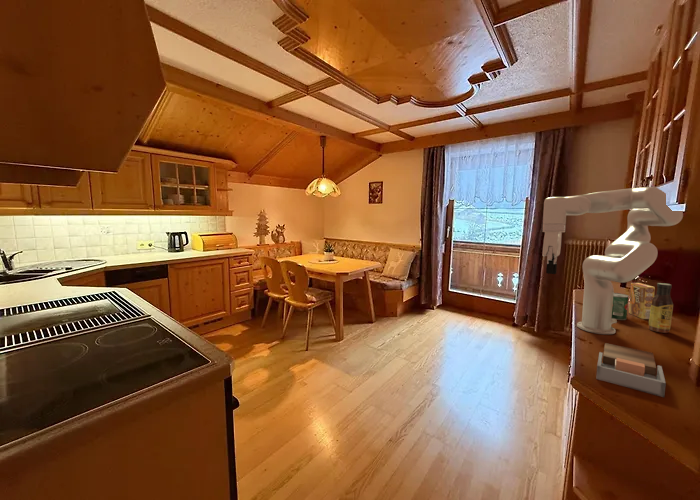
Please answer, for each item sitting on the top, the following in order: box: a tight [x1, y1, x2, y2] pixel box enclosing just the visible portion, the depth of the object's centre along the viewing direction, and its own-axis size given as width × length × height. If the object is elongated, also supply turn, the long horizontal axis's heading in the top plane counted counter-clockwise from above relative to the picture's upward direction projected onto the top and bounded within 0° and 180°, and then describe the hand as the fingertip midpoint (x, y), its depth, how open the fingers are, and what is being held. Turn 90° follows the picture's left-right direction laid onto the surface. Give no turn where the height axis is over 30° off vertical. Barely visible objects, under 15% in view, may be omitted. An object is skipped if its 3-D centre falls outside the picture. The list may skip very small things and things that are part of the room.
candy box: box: [628, 282, 656, 320], centre depth 139 cm, size 9×4×15 cm, turn 171°
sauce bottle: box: [648, 282, 674, 334], centre depth 122 cm, size 6×6×20 cm
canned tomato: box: [611, 292, 630, 321], centre depth 139 cm, size 8×8×11 cm
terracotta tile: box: [616, 358, 645, 377], centre depth 87 cm, size 5×6×2 cm
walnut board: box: [602, 342, 657, 376], centre depth 97 cm, size 13×12×3 cm
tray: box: [595, 351, 667, 398], centre depth 88 cm, size 12×14×4 cm
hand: (551, 273), depth 120 cm, fingers closed
